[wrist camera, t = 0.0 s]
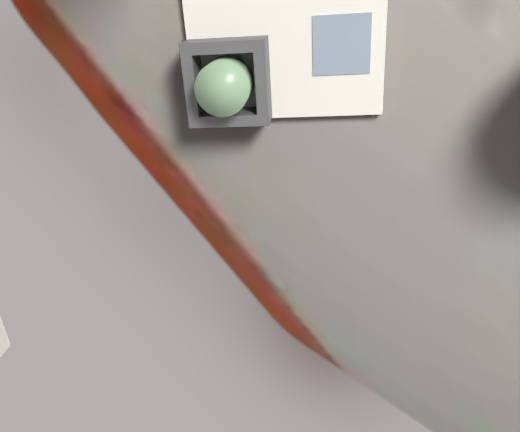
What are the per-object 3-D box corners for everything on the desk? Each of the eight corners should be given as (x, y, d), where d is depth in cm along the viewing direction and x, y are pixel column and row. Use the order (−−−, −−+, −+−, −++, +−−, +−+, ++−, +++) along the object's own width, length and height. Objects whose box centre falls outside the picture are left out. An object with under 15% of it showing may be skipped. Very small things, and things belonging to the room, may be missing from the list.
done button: (201, 56, 34) (191, 63, 32) (251, 54, 34) (245, 60, 31) (206, 107, 36) (197, 118, 33) (255, 106, 35) (249, 116, 33)
